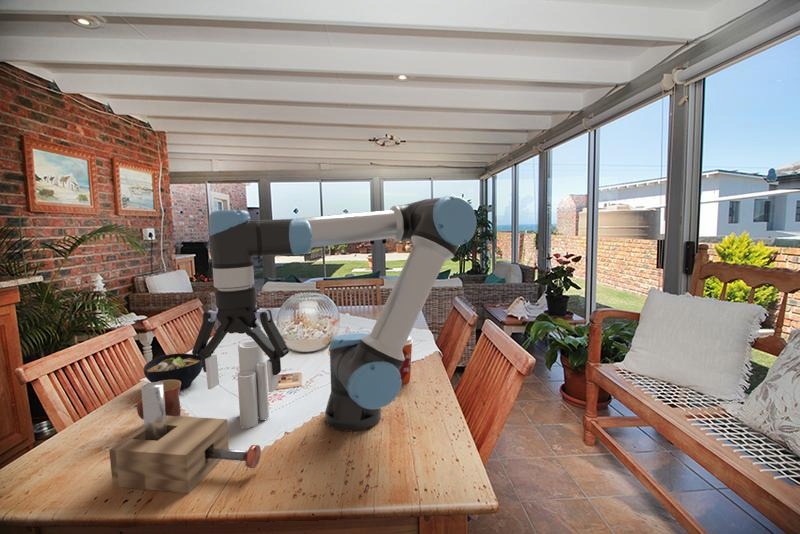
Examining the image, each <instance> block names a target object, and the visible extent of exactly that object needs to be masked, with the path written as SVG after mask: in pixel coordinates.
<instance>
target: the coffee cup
mask: <svg viewBox="0 0 800 534" xmlns="http://www.w3.org/2000/svg"><path fill="white" fill-rule="evenodd" d="M413 343H414V340H413V338H412V336H410V335H409V337H408V339H407V341H406V343H405V345H404V347H403V350H402V352H403V355H404V358H405V360H404V362H403V364H402V367H401V369H400V371H399V372H400V375H401V380H402V384H401V385H406V384H409V383H410V382H411V381H410V380H411V367H412V366H411V365H412V352H413V349H412V347H413Z"/></svg>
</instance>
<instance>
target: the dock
mask: <svg viewBox="0 0 800 534" xmlns="http://www.w3.org/2000/svg"><path fill="white" fill-rule="evenodd" d="M166 427H167V434H166V435H165V436H163V437H162V438H161V439H159V440H158V441H154V440H145V429H144V426H142V427H141V428H139V429H138V430H136V431H135V432H134V433H132V434H130V435H129V436H128V437H126V438H125V439H123V440H121V441H120V442H119V443H117V444H115V445H113V446H112V447H111V448H109V449H108V450H109V461H110V462H109V463H110V470H111V471H110V473H111V481H112V487H114V488H115V487H116V488H124V489H125V488H127V489H138V490H147V491H148V490H150V491H158V492H160V491H161V492H171V493H184V494H190V493H191V491H193V490H194V488H196V486H198V485H199V483H200V482H201V481H202V480H203V479H204V478H205V477H206V476H207V475H208V474H209V473H210V472H212V470H213V469H214V468H215V467H216V466H217V465H218V464H219V463H220V462H221V461H223V460H222V459H209V458H205V450H206V449H207V448H216V449H230V444H229V429H228V428H229V427H228V419H227V418H213V417H198V416H197V417H196V416H181V415H180V416H166Z"/></svg>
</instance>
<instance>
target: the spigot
mask: <svg viewBox="0 0 800 534" xmlns="http://www.w3.org/2000/svg"><path fill="white" fill-rule="evenodd" d="M140 389H141V399H142V403H143V416H144V420H143V427H144V429H145V440H154V441H158V440H159V439H161V438H162V437H163V436H165V435H166V434H167V427H166V413H165V399H164V384H163V382H152V383H151V382H149V383H146V384H144V385H142V386H141V388H140Z"/></svg>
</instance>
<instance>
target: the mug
mask: <svg viewBox="0 0 800 534" xmlns="http://www.w3.org/2000/svg"><path fill="white" fill-rule="evenodd" d="M158 382H163V384H164V399H165V413H166V416H181V403H180V387H181V381H179V380H163V381H158ZM136 412H137V415H138V417H139V418H140V419H141V420H143V421H144V416H143V403H142V398H140V399H139V400H138V402H137V404H136Z"/></svg>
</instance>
